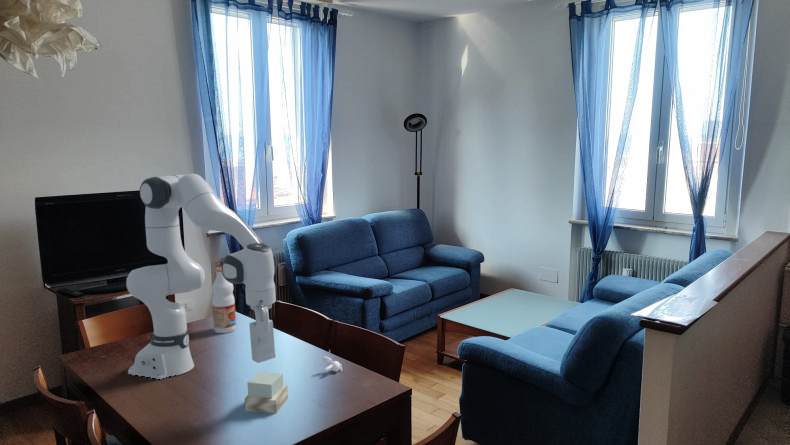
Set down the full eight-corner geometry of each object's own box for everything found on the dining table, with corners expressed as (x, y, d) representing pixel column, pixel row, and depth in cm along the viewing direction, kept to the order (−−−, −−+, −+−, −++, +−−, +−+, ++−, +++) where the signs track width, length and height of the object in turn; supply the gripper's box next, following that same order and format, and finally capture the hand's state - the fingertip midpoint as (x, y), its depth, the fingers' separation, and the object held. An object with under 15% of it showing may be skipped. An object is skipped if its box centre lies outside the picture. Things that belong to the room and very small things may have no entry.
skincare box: (268, 355, 171) (265, 317, 170) (276, 358, 168) (273, 320, 167) (251, 360, 167) (248, 322, 166) (258, 364, 164) (255, 325, 162)
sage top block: (248, 396, 167) (247, 382, 166) (260, 384, 175) (259, 371, 174) (272, 398, 165) (271, 384, 164) (283, 387, 173) (282, 373, 172)
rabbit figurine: (345, 373, 192) (326, 368, 188) (339, 379, 194) (320, 374, 190) (343, 359, 197) (325, 353, 193) (337, 365, 198) (319, 359, 194)
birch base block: (245, 412, 166) (244, 398, 165) (258, 396, 176) (257, 383, 175) (276, 414, 165) (275, 400, 164) (288, 398, 174) (287, 385, 174)
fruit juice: (214, 327, 241) (210, 266, 236) (236, 325, 243) (233, 264, 239) (213, 334, 232) (209, 271, 227) (235, 332, 234) (232, 269, 230)
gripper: (273, 305, 156) (275, 351, 158) (269, 287, 175) (271, 328, 177) (250, 307, 154) (252, 353, 156) (249, 289, 174) (251, 330, 176)
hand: (262, 340), depth 167 cm, fingers closed on skincare box, 6 cm apart
